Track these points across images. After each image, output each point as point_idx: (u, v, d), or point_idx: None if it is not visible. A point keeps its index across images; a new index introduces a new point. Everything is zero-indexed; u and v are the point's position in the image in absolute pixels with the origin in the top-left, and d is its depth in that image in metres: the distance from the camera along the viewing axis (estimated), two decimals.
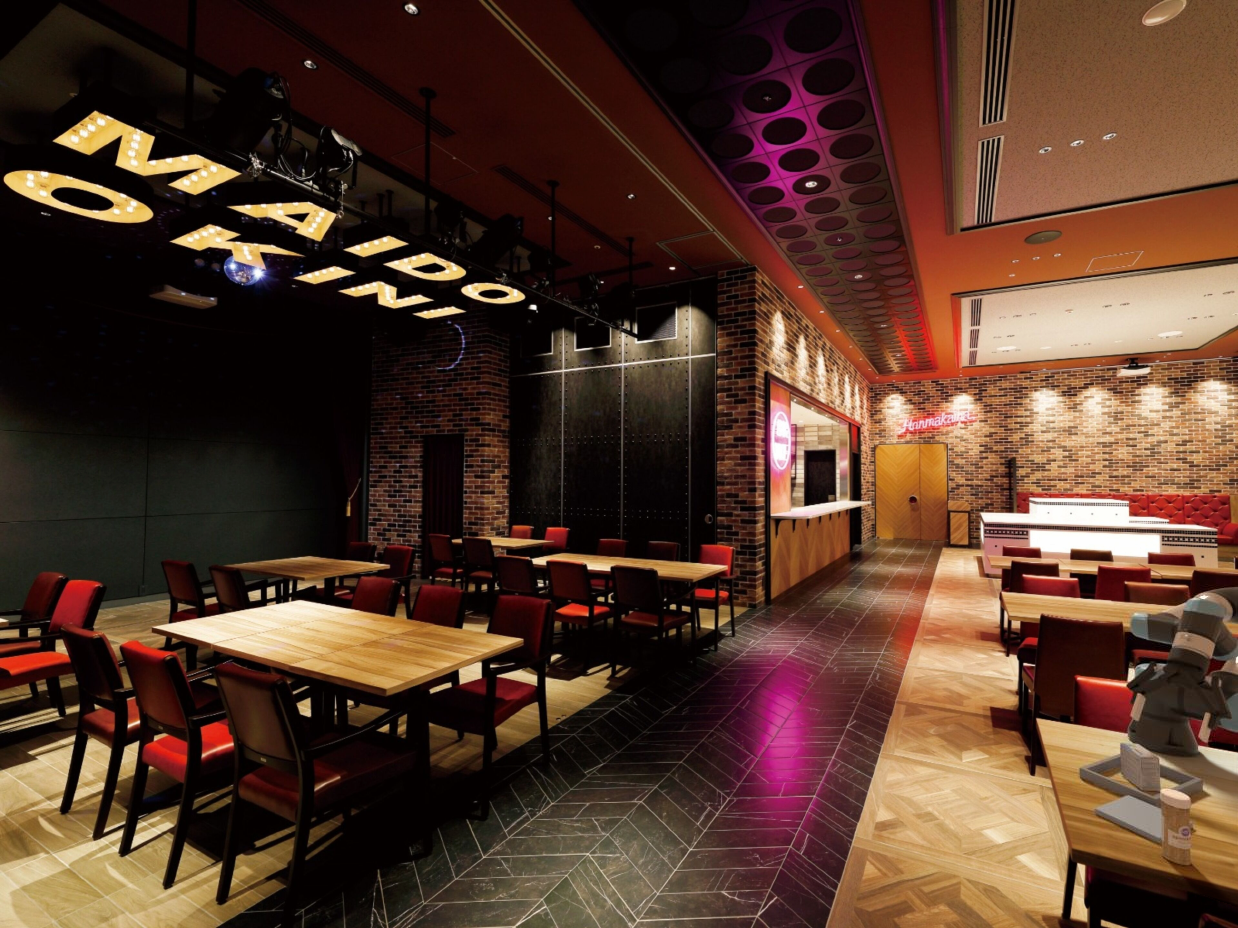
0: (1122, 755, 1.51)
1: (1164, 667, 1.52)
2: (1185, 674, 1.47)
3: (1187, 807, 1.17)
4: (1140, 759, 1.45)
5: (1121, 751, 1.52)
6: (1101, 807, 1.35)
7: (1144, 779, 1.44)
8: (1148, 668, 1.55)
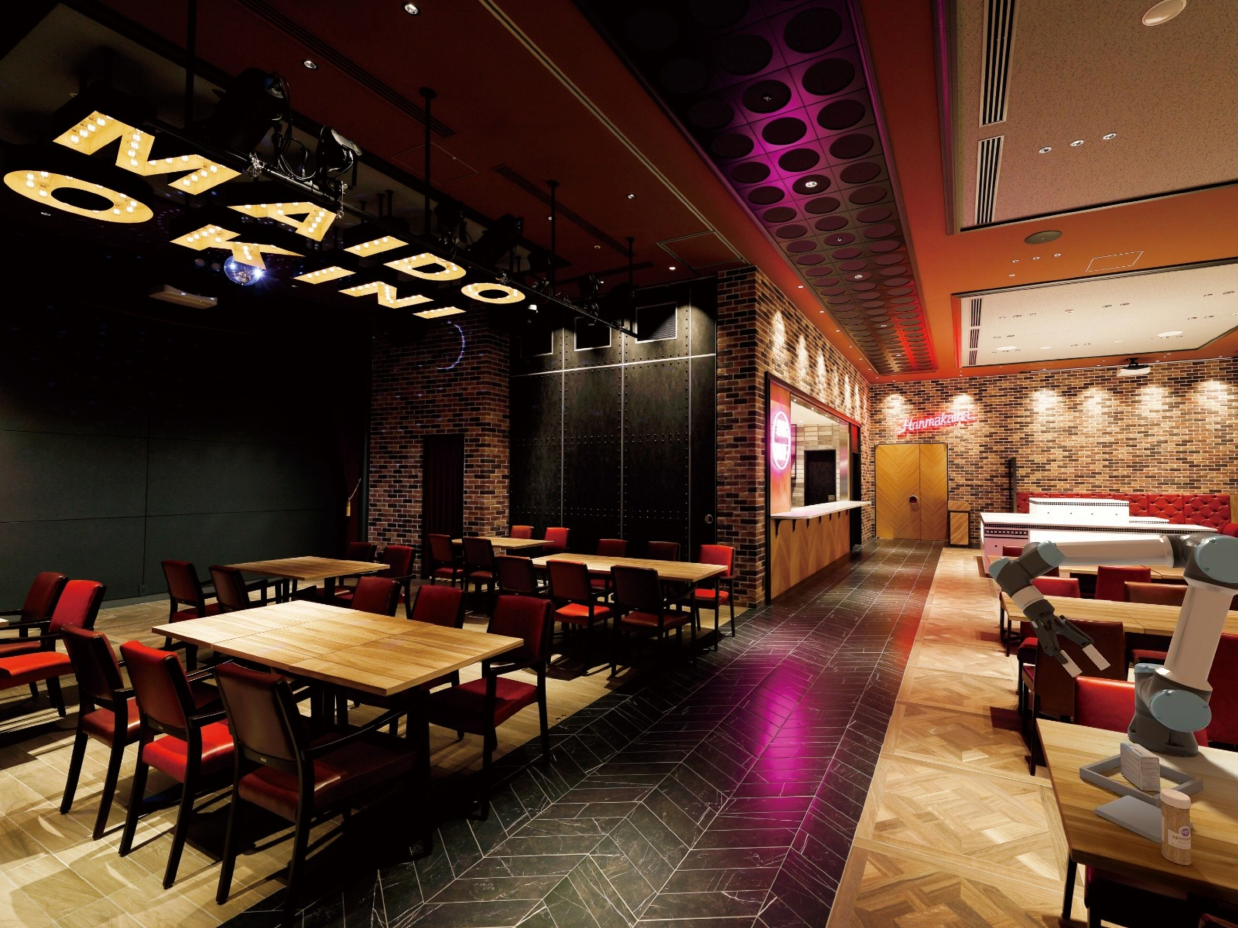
0: (1122, 755, 1.51)
1: None
2: None
3: (1187, 807, 1.17)
4: (1140, 758, 1.45)
5: (1121, 751, 1.52)
6: (1101, 807, 1.35)
7: (1144, 779, 1.44)
8: None
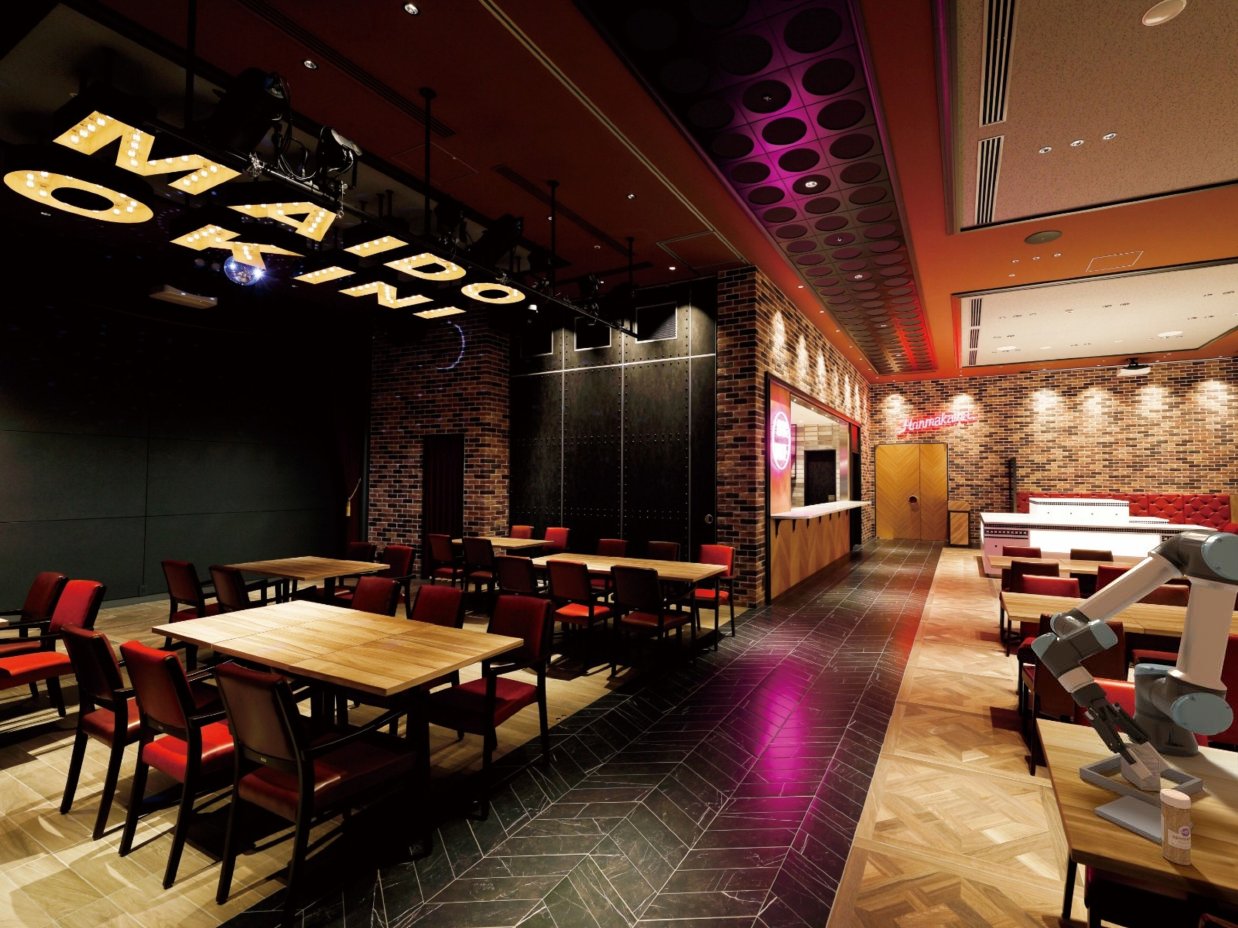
0: None
1: None
2: None
3: (1187, 807, 1.17)
4: (1140, 758, 1.45)
5: None
6: (1101, 807, 1.35)
7: (1145, 779, 1.44)
8: None
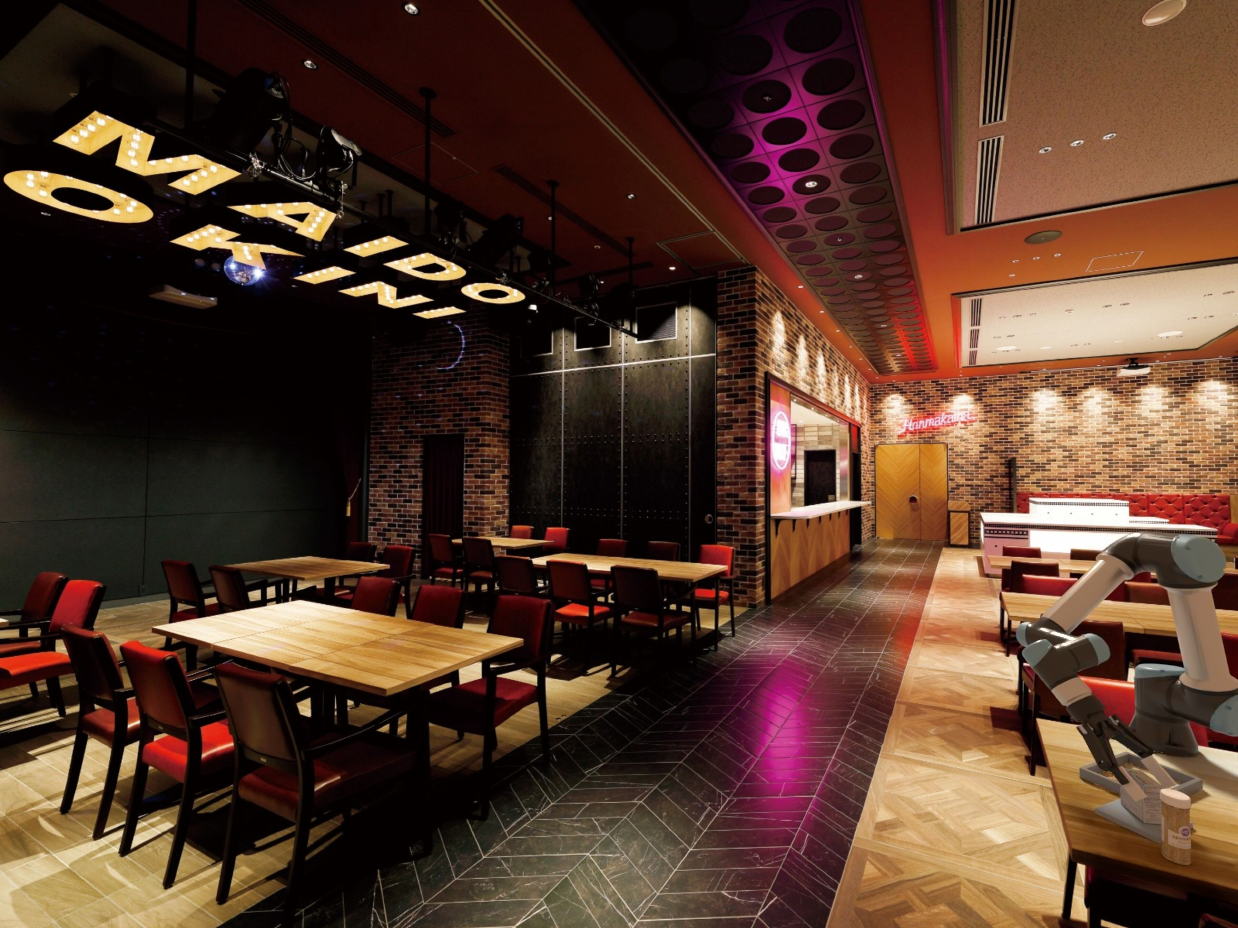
0: None
1: None
2: None
3: (1187, 807, 1.17)
4: (1143, 788, 1.29)
5: None
6: (1101, 807, 1.35)
7: (1148, 811, 1.29)
8: None
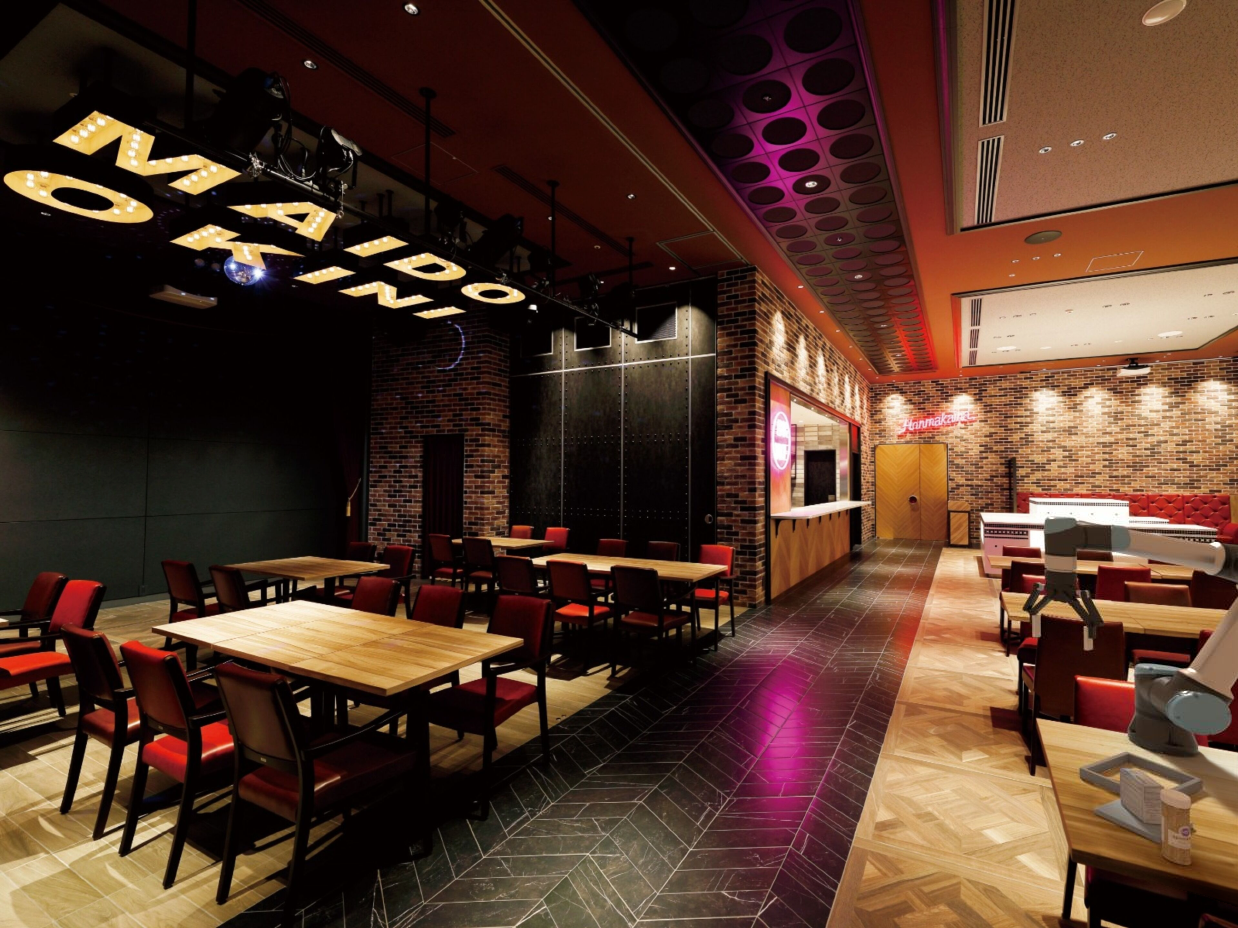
0: (1122, 782, 1.35)
1: None
2: None
3: (1187, 807, 1.17)
4: (1143, 788, 1.29)
5: (1121, 778, 1.36)
6: (1101, 807, 1.35)
7: (1148, 811, 1.29)
8: None
